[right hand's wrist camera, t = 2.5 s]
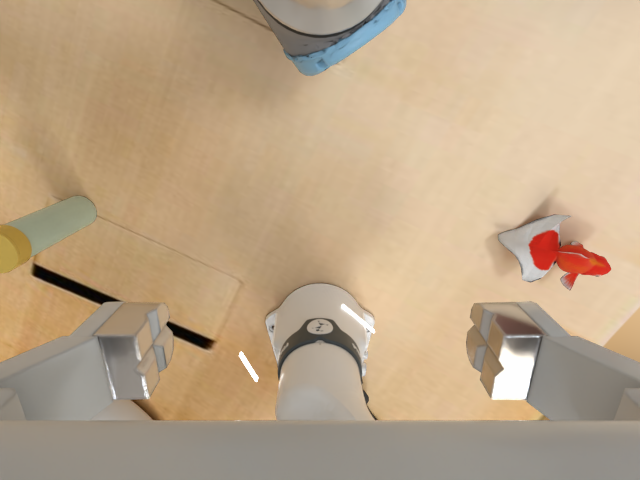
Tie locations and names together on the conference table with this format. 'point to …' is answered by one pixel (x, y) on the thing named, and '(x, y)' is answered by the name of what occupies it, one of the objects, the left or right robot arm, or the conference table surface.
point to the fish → (550, 251)
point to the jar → (55, 222)
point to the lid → (13, 248)
